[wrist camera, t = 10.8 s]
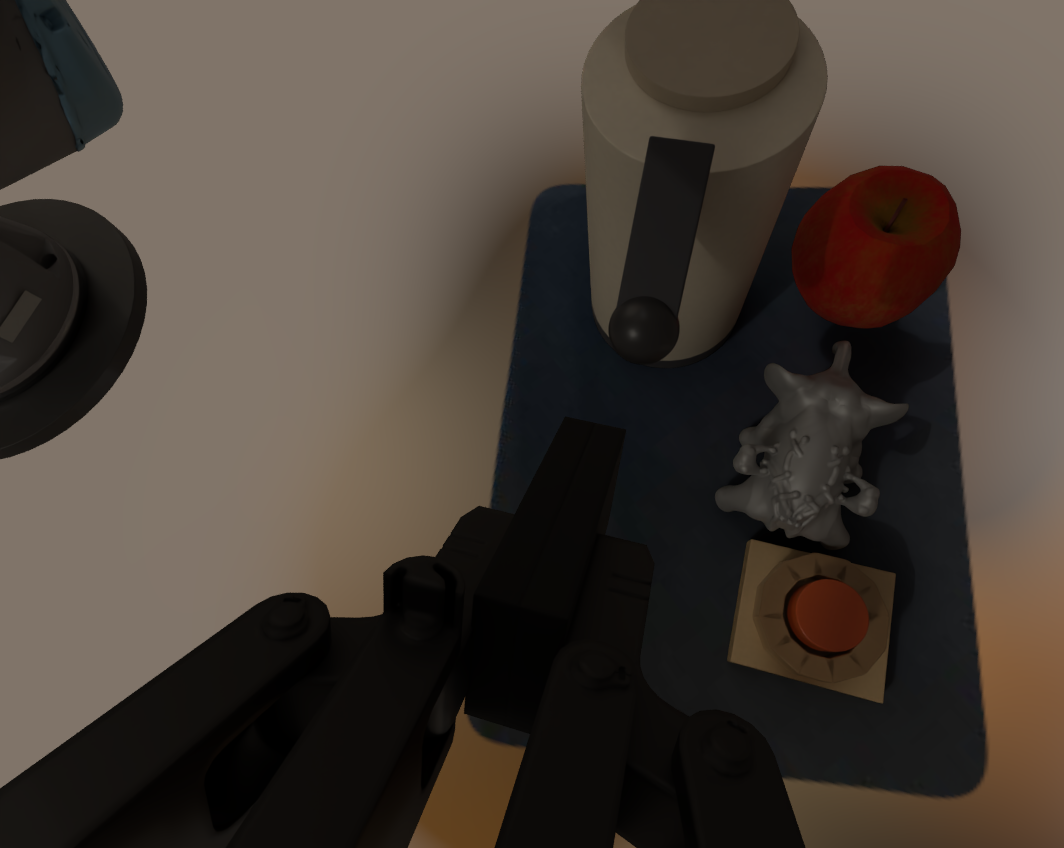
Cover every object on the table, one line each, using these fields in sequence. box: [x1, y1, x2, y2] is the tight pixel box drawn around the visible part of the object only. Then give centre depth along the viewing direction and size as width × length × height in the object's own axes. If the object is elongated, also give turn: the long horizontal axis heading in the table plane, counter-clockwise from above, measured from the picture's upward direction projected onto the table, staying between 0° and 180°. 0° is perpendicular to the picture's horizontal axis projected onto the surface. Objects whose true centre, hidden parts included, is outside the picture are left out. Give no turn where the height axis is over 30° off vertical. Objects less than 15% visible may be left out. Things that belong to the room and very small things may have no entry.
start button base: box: [727, 539, 896, 703], centre depth 36 cm, size 8×7×3 cm
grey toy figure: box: [715, 341, 909, 550], centre depth 37 cm, size 9×12×8 cm
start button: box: [787, 579, 869, 652], centre depth 34 cm, size 4×4×2 cm
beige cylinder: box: [581, 0, 828, 368], centre depth 35 cm, size 10×10×20 cm
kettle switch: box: [608, 136, 715, 364], centre depth 25 cm, size 3×8×3 cm
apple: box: [792, 166, 961, 328], centre depth 38 cm, size 9×8×11 cm
